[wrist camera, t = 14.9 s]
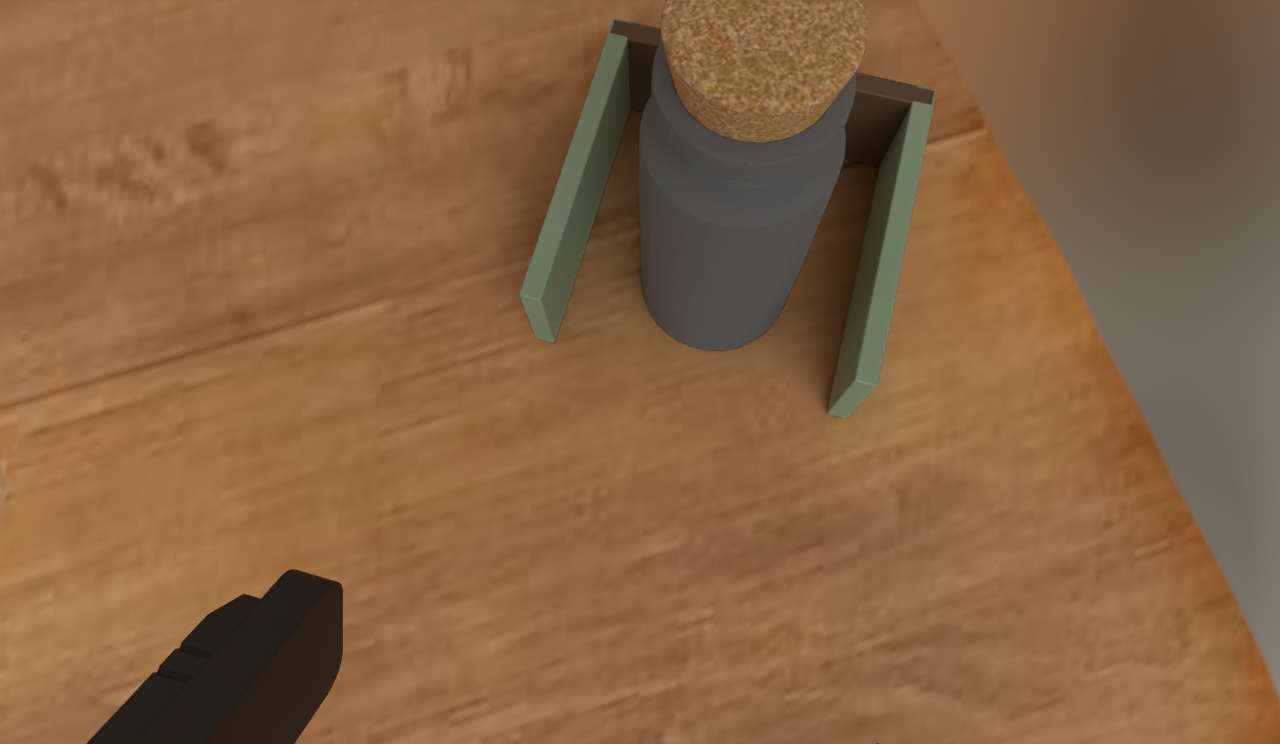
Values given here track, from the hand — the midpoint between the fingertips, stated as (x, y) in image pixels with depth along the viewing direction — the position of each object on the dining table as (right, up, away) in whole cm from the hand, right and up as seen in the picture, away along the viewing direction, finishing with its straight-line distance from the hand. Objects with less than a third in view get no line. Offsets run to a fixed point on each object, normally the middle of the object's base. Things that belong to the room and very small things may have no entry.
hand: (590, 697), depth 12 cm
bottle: (+4, +8, +21) cm, 23 cm away
